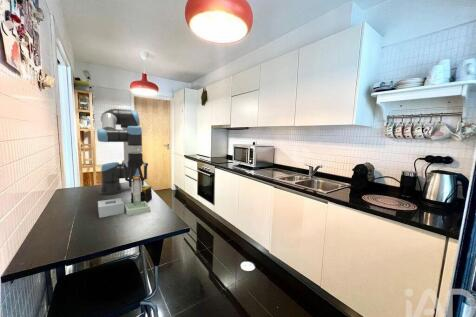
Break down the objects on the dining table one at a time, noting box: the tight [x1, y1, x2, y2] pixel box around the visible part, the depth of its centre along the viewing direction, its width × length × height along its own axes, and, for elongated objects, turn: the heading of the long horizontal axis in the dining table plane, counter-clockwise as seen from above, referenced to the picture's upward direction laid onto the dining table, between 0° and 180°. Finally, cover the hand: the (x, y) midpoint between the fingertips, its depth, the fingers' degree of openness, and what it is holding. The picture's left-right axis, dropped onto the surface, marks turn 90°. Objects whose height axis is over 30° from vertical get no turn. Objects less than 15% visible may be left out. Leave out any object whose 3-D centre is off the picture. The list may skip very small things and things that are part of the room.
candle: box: [130, 185, 153, 204], centre depth 138 cm, size 10×10×10 cm
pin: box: [132, 175, 141, 206], centre depth 120 cm, size 5×5×17 cm
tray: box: [124, 201, 151, 217], centre depth 122 cm, size 12×12×3 cm
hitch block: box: [97, 197, 125, 219], centre depth 118 cm, size 12×12×6 cm
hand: (136, 191), depth 120 cm, fingers closed on pin, 4 cm apart
